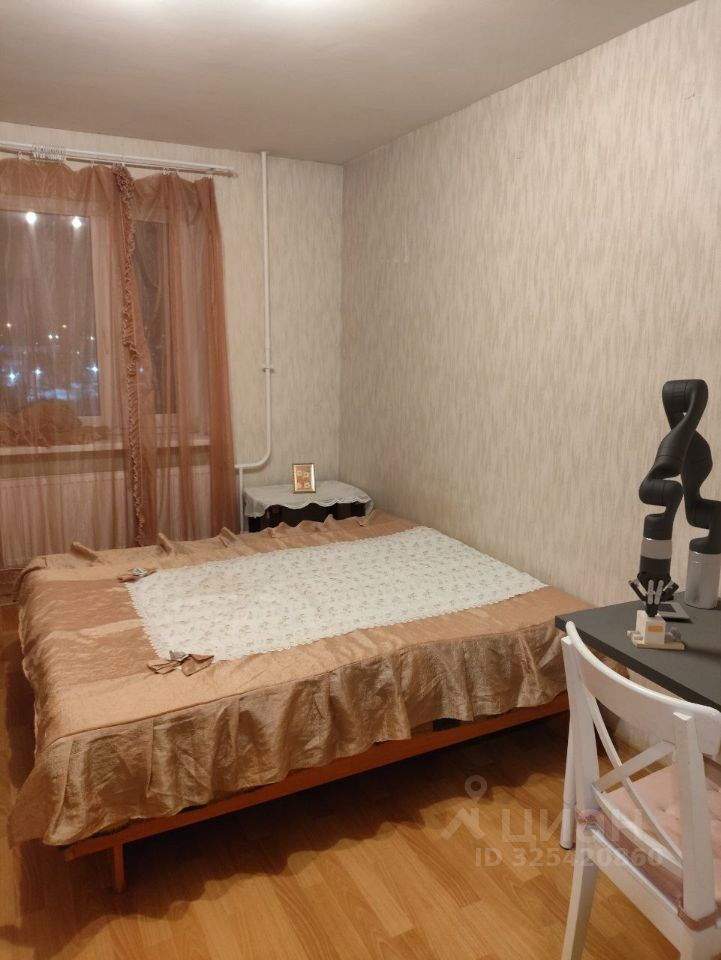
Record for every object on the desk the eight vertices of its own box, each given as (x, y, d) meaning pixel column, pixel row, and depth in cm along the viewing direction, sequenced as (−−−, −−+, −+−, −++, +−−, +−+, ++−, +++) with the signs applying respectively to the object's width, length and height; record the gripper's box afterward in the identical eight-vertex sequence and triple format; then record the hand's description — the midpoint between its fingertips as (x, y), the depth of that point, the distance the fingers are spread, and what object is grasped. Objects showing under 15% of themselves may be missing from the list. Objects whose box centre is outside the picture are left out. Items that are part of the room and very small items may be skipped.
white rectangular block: (664, 644, 178) (666, 622, 177) (644, 643, 179) (646, 621, 178) (654, 632, 186) (656, 611, 185) (635, 631, 187) (637, 610, 186)
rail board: (627, 634, 188) (628, 622, 187) (672, 636, 186) (673, 624, 186) (636, 647, 179) (637, 635, 178) (684, 649, 178) (685, 637, 177)
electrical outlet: (688, 624, 196) (689, 616, 195) (650, 621, 198) (650, 613, 198) (677, 608, 208) (678, 601, 208) (641, 606, 211) (641, 599, 210)
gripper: (677, 550, 182) (671, 612, 184) (626, 549, 183) (621, 610, 186) (687, 558, 174) (681, 622, 177) (634, 556, 176) (629, 620, 179)
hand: (650, 615), depth 181 cm, fingers closed
